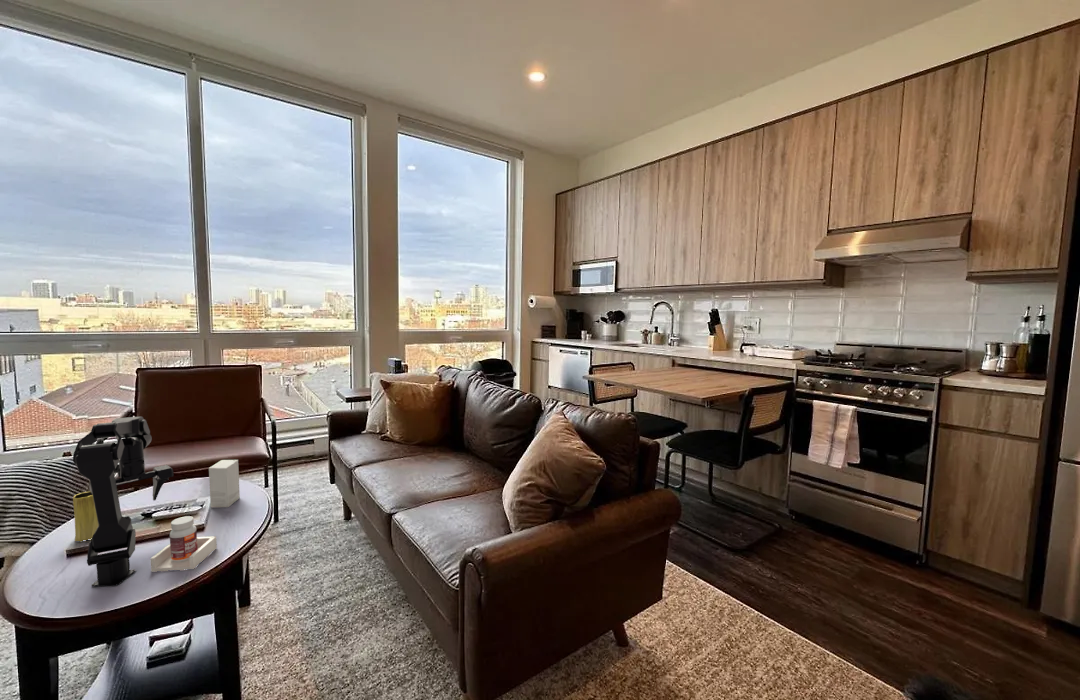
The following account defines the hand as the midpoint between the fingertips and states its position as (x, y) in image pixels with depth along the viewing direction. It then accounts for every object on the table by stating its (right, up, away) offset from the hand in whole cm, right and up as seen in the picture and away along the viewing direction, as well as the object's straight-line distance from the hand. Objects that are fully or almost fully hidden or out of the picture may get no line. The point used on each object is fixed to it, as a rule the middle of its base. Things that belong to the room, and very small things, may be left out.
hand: (135, 505), depth 138 cm
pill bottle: (+22, -13, -8) cm, 27 cm away
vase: (-18, -12, +3) cm, 21 cm away
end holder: (+22, -13, -8) cm, 27 cm away
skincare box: (+8, -9, +28) cm, 31 cm away
